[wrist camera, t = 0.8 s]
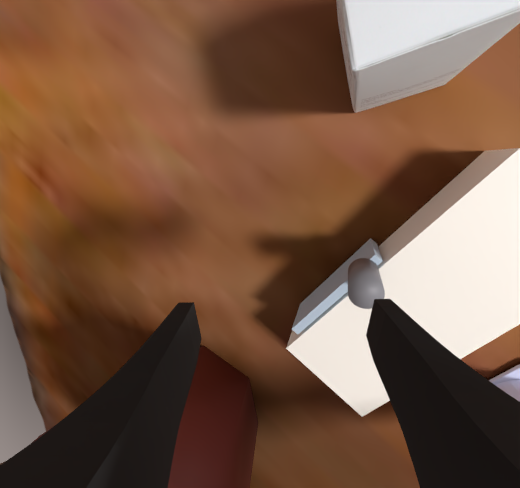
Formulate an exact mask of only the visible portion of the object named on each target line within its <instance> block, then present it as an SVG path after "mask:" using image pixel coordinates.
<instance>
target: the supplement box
mask: <svg viewBox="0 0 520 488" xmlns="http://www.w3.org/2000/svg"><path fill="white" fill-rule="evenodd" d="M337 14H338V24H339V30H340V36H341V42H342V49H343V55H344V61H345V67H346V73H347V79H348V84H349V90H350V96H351V101H352V106H353V110H354V112H355V113H356V112H360V111H363V110H367V109H370V108H374V107H377V106H380V105H383V104H386V103H389V102H393V101H396V100H399V99H402V98H405V97H408V96H411V95H414V94H417V93H421V92H424V91H427V90H430V89H433V88H436V87H439V86H442V85H445V84H446V83H447V82H448V81H450V80H451V79H452V78H454V77H455V76H456V75H457V74H458V73H459V72H461V71H462V70H463V69H464V68H466V67H467V66H468V65H469V64H470V63H472V62H473V61H474V60H475V59H477V58H478V57H479V56H480V55H481V54H483V53H484V52H485V51H486V50H487V49H489V48H490V47H491V46H492V45H494V44H495V43H496V42H497V41H498V40H500V39H501V38H502V37H503V36H504V35H506V34H507V33H508V32H509V31H510V30H512V29H513V28H514V27H515V26H517V25H518V24H519V23H520V0H337Z"/></svg>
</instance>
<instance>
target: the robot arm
mask: <svg viewBox="0 0 520 488" xmlns="http://www.w3.org/2000/svg"><path fill="white" fill-rule="evenodd" d="M366 337H367V340H368V344H369V348H370V351H371V355H372V358H373V361H374V363H375V366H376V368H377V371H378V373H379V376H380V378H381V380H382V383H383V385H384V387H385V390H386V392H387V395H388V397H389V399H390V402H391V404H392V406H393V409H394V411H395V413H396V416H397V418H398V421H399V423H400V426H401V429H402V431H403V434H404V437H405V440H406V443H407V446H408V450H409V453H410V456H411V459H412V462H413V465H414V468H415V472H416V475H417V478H418V482H419V485H420V488H520V364H519V365H517V366H515V367H513V368H511V369H509V370H507V371H506V372H504V373H502V374H500V375H498V376H496V377H494V378H492V379H490V380H487V379H486V378H484V377H483V376H482V375H480V374H479V373H477V372H476V371H475V370H473V369H472V368H471V367H469V366H468V365H467V364H466V363H464V362H463V361H462V360H460V359H459V358H458V357H457V356H455V355H454V354H453V353H452V352H450V351H449V350H448V349H447V348H445V347H444V346H443V345H442V344H441V343H439V342H438V341H437V340H436V339H435V338H434V337H432V336H431V335H430V334H429V333H428V332H427V331H425V330H424V329H423V328H422V327H421V326H420V325H419V324H418V323H416V322H415V321H414V320H413V319H412V318H411V317H410V316H409V315H408V314H406V313H405V312H404V311H403V310H402V309H401V308H400V307H399V306H398V305H397V304H395V303H394V302H393V301H392V300H391V299H374V303H373V307H372V312H371V316H370V320H369V325H368V329H367V333H366ZM200 343H201V334H200V329H199V325H198V320H197V315H196V311H195V306H194V303H178V304H177V305H176V306H175V308H174V309H173V310H172V311H171V313H170V314H169V315H168V316H167V317H166V319H165V320H164V321H163V322H162V323H161V325H160V326H159V327H158V328H157V329H156V331H155V332H154V333H153V334H152V335H151V336H150V338H149V339H148V340H147V341H146V342H145V343H144V344H143V346H142V347H141V348H140V349H139V350H138V351H137V352H136V353H135V354H134V355H133V356H132V357H131V358H130V359H129V360H128V361H127V363H126V364H125V365H124V366H123V367H122V368H121V369H120V370H119V371H118V372H117V373H116V374H115V375H114V376H113V377H111V378H110V379H109V380H108V381H107V382H106V383H105V384H104V385H103V386H102V387H101V388H100V389H99V390H97V391H96V392H95V393H94V394H93V395H92V396H91V397H89V398H88V399H87V400H86V401H85V402H84V403H82V404H81V405H80V406H79V407H78V408H76V409H75V410H74V411H73V412H72V413H70V414H69V415H68V416H67V417H65V418H64V419H63V420H62V421H60V422H59V423H58V424H57V425H55V426H54V427H53V428H51V429H50V430H49V431H47V432H46V433H45V434H43V435H42V436H41V437H39V438H38V439H37V440H35V441H34V442H33V443H31V444H30V445H29V446H27V447H26V448H24V449H23V450H22V451H20V452H19V453H17V454H16V455H15V456H13V457H12V458H10V459H9V460H7V461H6V462H4V463H3V464H1V465H0V488H168V483H169V477H170V471H171V466H172V460H173V455H174V450H175V445H176V440H177V434H178V430H179V426H180V422H181V418H182V415H183V411H184V408H185V404H186V401H187V397H188V394H189V390H190V387H191V383H192V380H193V376H194V372H195V369H196V365H197V361H198V355H199V349H200Z"/></svg>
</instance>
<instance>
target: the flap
mask: <svg viewBox="0 0 520 488" xmlns="http://www.w3.org/2000/svg"><path fill="white" fill-rule="evenodd" d="M382 261H383V260H382V257H381V254H380V251H379V248H378V245H377V243H376V242H375V241H373V240H372V239H371V238H370V239H369V240H368V241H367V242H366V243H365V244H364V245H363V246H362V247H360V248H359V249H358V250H357V251H356V252H355V253H354V254H353V255H352V256H351V257H350V258H349V259H348V260H347V261H345V262H344V263H343V264H342V265H341V266H340V267H339V268H338V269H337V270H336V271H335V272H334V273H333V274H332V275H330V276H329V277H328V278H327V279H326V280H325V281H324V282H323V283H322V284H321V285H320V286H319V287H318V288H316V289H315V290H314V291H313V292H312V293H311V294H310V295H309V296H308V297H307V298H306V299H305V300H304V301H303V302H301V303H300V306H299V309H298V312H297V315H296V318H295V321H294V323H293V326H292V330H293V331H294V332H295V333H297V334H299V333H300V332H302V331H303V330H304V329H305V328H306V327H307V326H309V325H310V324H311V323H312V322H313V321H314V320H315V319H317V318H318V317H319V316H320V315H321V314H322V313H324V312H325V311H326V310H327V309H328V308H329V307H330V306H332V305H333V304H334V303H335V302H336V301H337V300H339V299H340V298H341V297H342V296H343V295H344V294H346V293H347V292H348V297H349V299H350V301H351V302H352V303H353V304H354V305H356V306H357V307H360V308H363V309H371V308H372V307H373V303H374V299H384V297H385V291H384V287H383V283H382V280H381V276H380V272H379V269H378V265H379V264H380V263H381V262H382Z"/></svg>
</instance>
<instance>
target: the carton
mask: <svg viewBox="0 0 520 488" xmlns="http://www.w3.org/2000/svg"><path fill="white" fill-rule="evenodd" d="M378 248H379V251H380V254H381V257H382V260H383V261H382V262H381V263H380V264H379V265H378V269H379V272H380V276H381V280H382V283H383V287H384V291H385V297H384V299H391V300H392V301H393V302H394V303H395V304H397V305H398V306H399V307H400V308H401V309H402V310H403V311H404V312H405V313H406V314H408V315H409V316H410V317H411V318H412V319H413V320H414V321H415V322H416V323H418V324H419V325H420V326H421V327H422V328H423V329H424V330H425V331H427V332H428V333H429V334H430V335H431V336H432V337H434V338H435V339H436V340H437V341H438V342H439V343H441V344H442V345H443V346H444V347H445V348H447V349H448V350H449V351H450V352H452V353H453V354H454V355H455V356H457V357H458V358H459V359H461V358H463V357H465V356H466V355H468V354H470V353H471V352H473V351H475V350H477V349H478V348H480V347H482V346H483V345H485V344H487V343H488V342H490V341H492V340H494V339H495V338H497V337H499V336H500V335H502V334H504V333H505V332H507V331H509V330H511V329H512V328H514V327H516V326H517V325H519V324H520V148H517V149H503V150H489V151H484V152H483V153H482V154H481V155H479V156H478V157H477V158H476V159H475V160H474V161H473V162H472V163H471V164H469V165H468V166H467V167H466V168H465V169H464V170H463V171H462V172H461V173H459V174H458V175H457V176H456V177H455V178H454V179H453V180H452V181H451V182H449V183H448V184H447V185H446V186H445V187H444V188H443V189H442V190H441V191H440V192H438V193H437V194H436V195H435V196H434V197H433V198H432V199H431V200H430V201H428V202H427V203H426V204H425V205H424V206H423V207H422V208H421V209H420V210H418V211H417V212H416V213H415V214H414V215H413V216H412V217H411V218H410V219H408V220H407V221H406V222H405V223H404V224H403V225H402V226H401V227H400V228H398V229H397V230H396V231H395V232H394V233H393V234H392V235H391V236H390V237H388V238H387V239H386V240H385V241H384V242H383V243H382V244H381V245H380V246H378ZM371 312H372V308H371V309H363V308H360V307H357V306H356V305H354V304H353V303H352V302H351V301H350V299H349V297H348V292H347V293H346V294H344V295H343V296H342V297H341V298H340V299H339V300H337V301H336V302H335V303H334V304H333V305H332V306H330V307H329V308H328V309H327V310H326V311H325V312H324V313H322V314H321V315H320V316H319V317H318V318H317V319H315V320H314V321H313V322H312V323H311V324H310V325H309V326H307V327H306V328H305V329H304V330H303V331H302V332H300V333H299V334H297V333H295V332H294V331H293V330H292V332H291V335H290V338H289V341H288V344H287V347H286V349H287V350H288V351H290V352H291V353H292V354H293V355H294V356H295V357H296V358H297V359H298V360H300V361H301V362H302V363H303V364H304V365H305V366H306V367H307V368H308V369H310V370H311V371H312V372H313V373H314V374H315V375H316V376H317V377H318V378H320V379H321V380H322V381H323V382H324V383H325V384H326V385H327V386H328V387H330V388H331V389H332V390H333V391H334V392H335V393H336V394H337V395H338V396H340V397H341V398H342V399H343V400H344V401H345V402H346V403H347V404H348V405H350V406H351V407H352V408H353V409H354V410H355V411H356V412H357V413H358V414H360V415H361V416H362V417H363V416H364V415H366V414H368V413H370V412H371V411H373V410H375V409H376V408H378V407H380V406H381V405H383V404H385V403H386V402H388V401H390V399H389V397H388V395H387V392H386V390H385V387H384V385H383V383H382V380H381V378H380V376H379V373H378V371H377V368H376V366H375V363H374V361H373V358H372V355H371V351H370V348H369V344H368V340H367V337H366V333H367V329H368V325H369V320H370V316H371Z"/></svg>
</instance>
